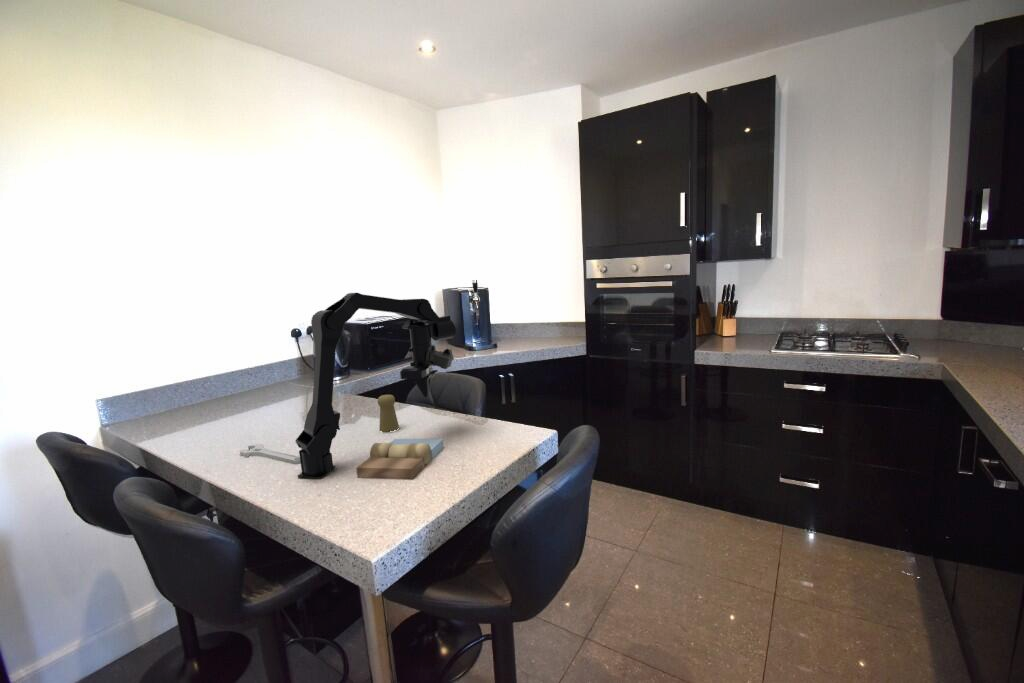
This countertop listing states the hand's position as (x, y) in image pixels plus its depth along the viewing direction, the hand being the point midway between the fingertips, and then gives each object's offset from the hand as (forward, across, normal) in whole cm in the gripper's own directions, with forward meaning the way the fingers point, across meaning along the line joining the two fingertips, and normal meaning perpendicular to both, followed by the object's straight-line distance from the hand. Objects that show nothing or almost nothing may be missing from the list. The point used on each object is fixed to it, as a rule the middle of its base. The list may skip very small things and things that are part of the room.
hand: (426, 396), depth 131 cm
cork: (+12, +6, +16) cm, 21 cm away
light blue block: (+12, -15, 0) cm, 19 cm away
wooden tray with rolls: (+12, -22, 0) cm, 25 cm away
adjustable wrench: (+13, -17, +40) cm, 45 cm away
